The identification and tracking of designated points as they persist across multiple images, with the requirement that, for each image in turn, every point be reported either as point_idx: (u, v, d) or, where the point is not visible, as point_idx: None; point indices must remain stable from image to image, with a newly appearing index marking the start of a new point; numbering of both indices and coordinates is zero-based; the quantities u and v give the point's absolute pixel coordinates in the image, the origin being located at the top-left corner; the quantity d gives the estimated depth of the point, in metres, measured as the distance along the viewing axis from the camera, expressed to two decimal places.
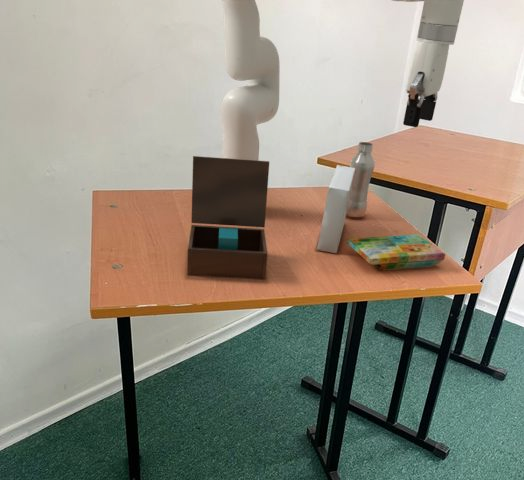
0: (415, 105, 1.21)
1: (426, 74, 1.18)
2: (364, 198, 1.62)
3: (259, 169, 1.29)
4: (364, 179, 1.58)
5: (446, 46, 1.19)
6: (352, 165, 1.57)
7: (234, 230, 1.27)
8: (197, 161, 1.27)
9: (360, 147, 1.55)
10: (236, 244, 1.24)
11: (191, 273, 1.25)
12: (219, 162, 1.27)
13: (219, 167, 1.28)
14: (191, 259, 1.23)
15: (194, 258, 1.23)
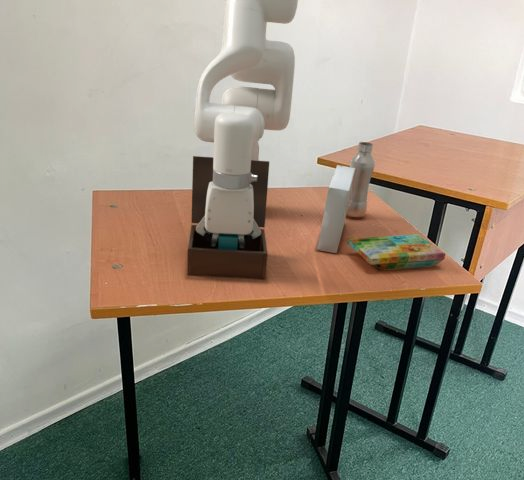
0: None
1: (205, 212, 1.21)
2: (364, 198, 1.62)
3: (259, 169, 1.29)
4: (364, 179, 1.58)
5: (230, 192, 1.18)
6: (352, 165, 1.57)
7: None
8: (197, 161, 1.27)
9: (360, 147, 1.55)
10: (236, 244, 1.24)
11: (191, 273, 1.25)
12: None
13: None
14: (191, 259, 1.23)
15: (194, 258, 1.23)
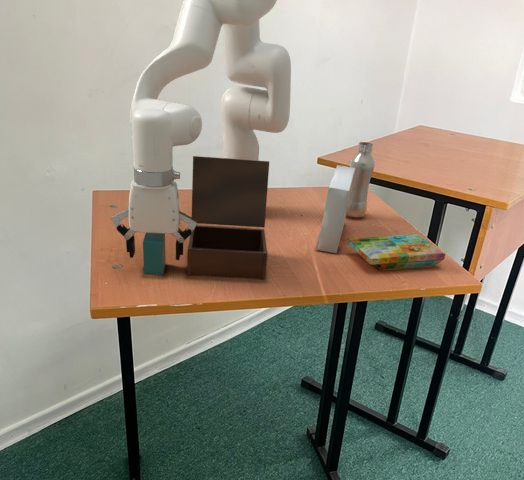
0: None
1: (128, 210, 1.18)
2: (364, 198, 1.62)
3: (259, 169, 1.29)
4: (364, 179, 1.58)
5: (152, 190, 1.14)
6: (352, 165, 1.58)
7: (161, 234, 1.24)
8: (197, 161, 1.27)
9: (360, 147, 1.55)
10: (161, 248, 1.21)
11: (191, 273, 1.25)
12: (219, 162, 1.27)
13: (219, 167, 1.28)
14: (191, 259, 1.23)
15: (194, 258, 1.23)
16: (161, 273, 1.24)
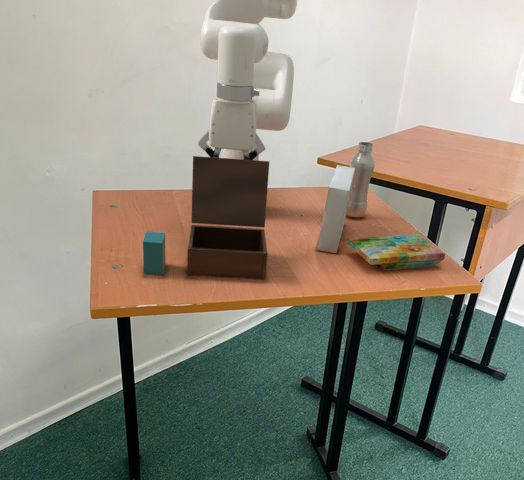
0: None
1: (209, 126, 1.26)
2: (364, 198, 1.62)
3: (259, 169, 1.29)
4: (364, 179, 1.58)
5: (234, 105, 1.22)
6: (352, 165, 1.57)
7: (161, 234, 1.24)
8: (197, 161, 1.27)
9: (360, 147, 1.55)
10: (161, 248, 1.21)
11: (191, 273, 1.25)
12: (219, 162, 1.27)
13: (219, 167, 1.28)
14: (191, 259, 1.23)
15: (194, 258, 1.23)
16: (161, 273, 1.24)
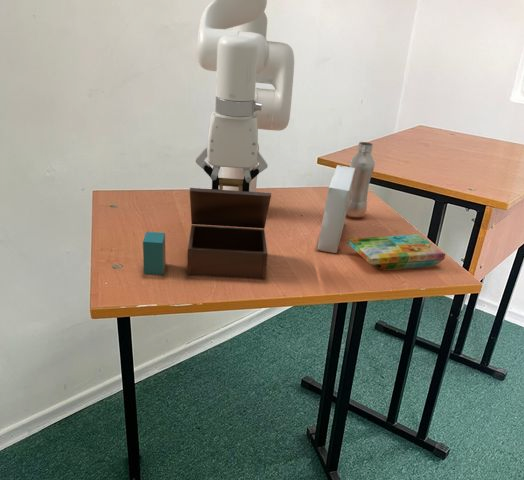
0: None
1: (208, 143, 1.17)
2: (364, 198, 1.62)
3: (259, 200, 1.22)
4: (364, 179, 1.58)
5: (234, 120, 1.14)
6: (352, 165, 1.57)
7: (161, 234, 1.24)
8: (194, 194, 1.20)
9: (360, 147, 1.55)
10: (161, 248, 1.21)
11: (191, 273, 1.25)
12: (217, 195, 1.20)
13: (218, 197, 1.21)
14: (191, 259, 1.23)
15: (194, 258, 1.23)
16: (161, 273, 1.24)
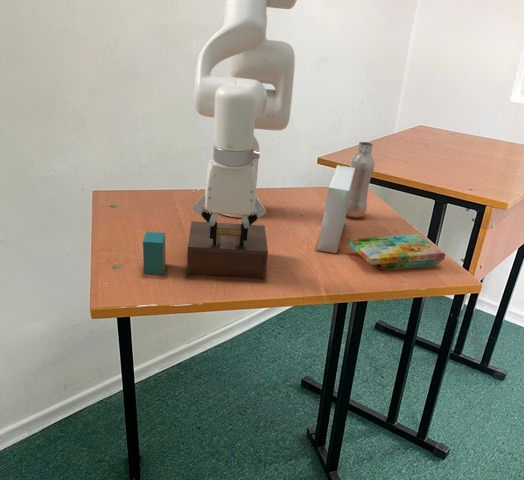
0: None
1: (205, 191, 1.16)
2: (364, 198, 1.62)
3: None
4: (364, 179, 1.58)
5: (232, 169, 1.12)
6: (352, 165, 1.57)
7: (161, 234, 1.24)
8: None
9: (360, 147, 1.55)
10: (161, 248, 1.21)
11: (191, 273, 1.25)
12: None
13: None
14: (191, 259, 1.23)
15: (194, 258, 1.23)
16: (161, 273, 1.24)
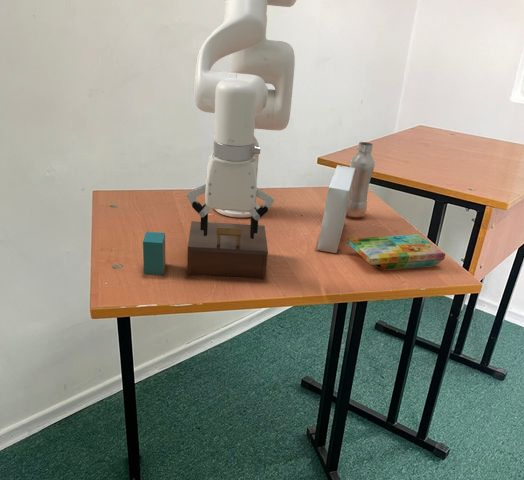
0: None
1: (205, 186, 1.15)
2: (364, 198, 1.62)
3: None
4: (364, 179, 1.58)
5: (232, 164, 1.11)
6: (352, 165, 1.57)
7: (161, 234, 1.24)
8: None
9: (360, 147, 1.55)
10: (161, 248, 1.21)
11: (191, 273, 1.25)
12: None
13: None
14: (191, 259, 1.23)
15: (194, 258, 1.23)
16: (161, 273, 1.24)
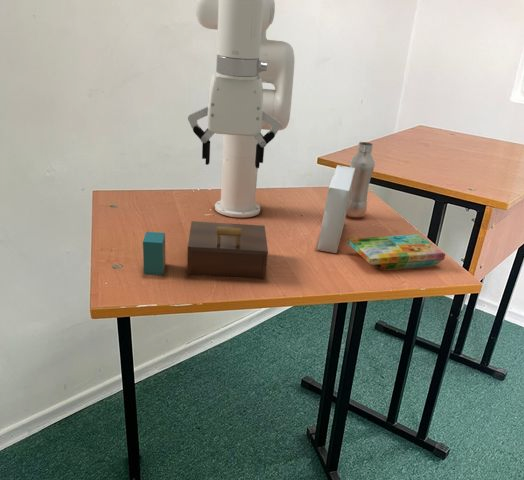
0: None
1: (208, 108, 1.07)
2: (364, 198, 1.62)
3: None
4: (364, 179, 1.58)
5: (236, 81, 1.03)
6: (352, 165, 1.58)
7: (161, 234, 1.24)
8: None
9: (360, 147, 1.55)
10: (161, 248, 1.21)
11: (191, 273, 1.25)
12: None
13: None
14: (191, 259, 1.23)
15: (194, 258, 1.23)
16: (161, 273, 1.24)
